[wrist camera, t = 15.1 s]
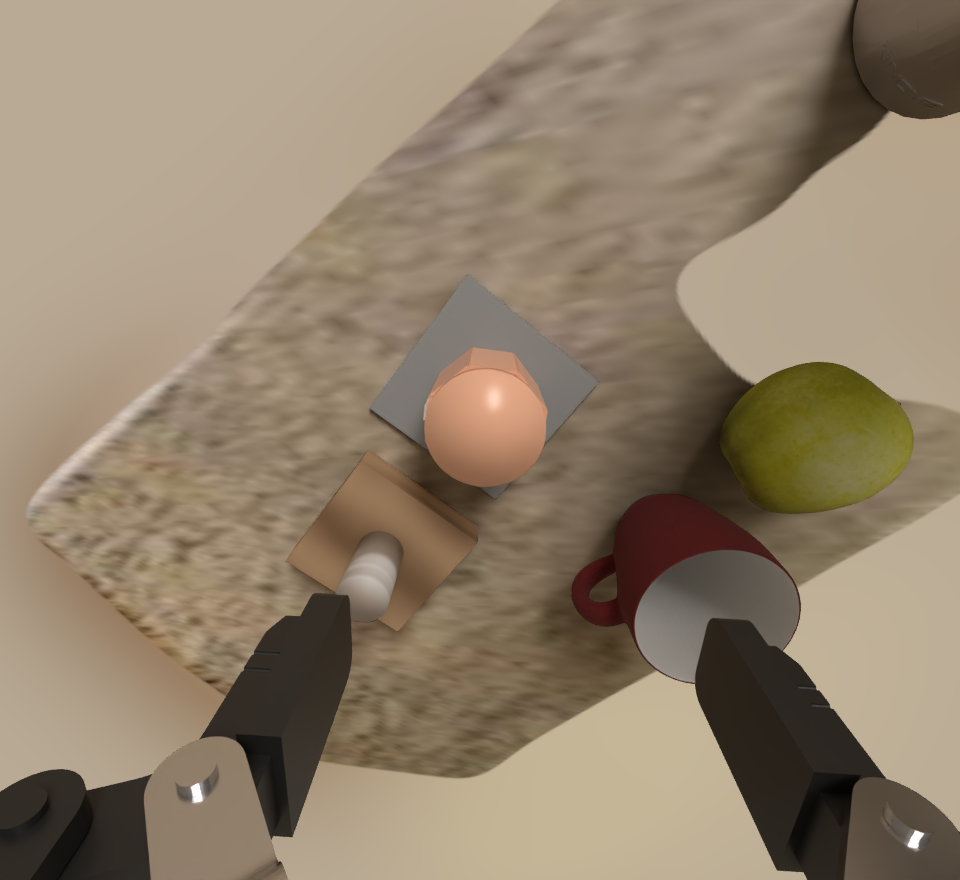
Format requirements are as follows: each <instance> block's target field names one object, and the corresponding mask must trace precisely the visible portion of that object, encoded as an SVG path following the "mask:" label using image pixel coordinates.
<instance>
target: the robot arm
mask: <svg viewBox="0 0 960 880" xmlns="http://www.w3.org/2000/svg"><path fill="white" fill-rule="evenodd" d="M853 48H854V55H855V63H856V66H857V68H858V71H859V74H860V76H861V79H862V82H863V83H864V85H865V86H866V88H867V89H868V91H869V92H870V94H871V95H872V96H873V98H874V99H876V100H877V101H878V102H879V103H880V104H882V105H883V106H884V107H885V108H886V109H888V110H890V111H892V112H895V113H897V114H899V115H901V116H904V117H911V118H917V119H930V118H941V117H944V116H948V115H951V114H954V113H957V112H960V0H858V2H857V7H856V11H855V15H854V25H853ZM351 660H352V636H351V613H350V599H349V596H348V595H338V594H321V593H314V594H313V595H312V596H311V598H310V599H309V601H308V603H307V605H306V607H305V609H304V610H303V612H302V614H301V616H285V617H284V618H282V619H281V620H280V621H279V622H278V623H276V624H275V625H274V626H273V627H271V628H270V629H269V630H268V631H266V633H265V635H264V636H263V638H262V639H261V641H260V643H259V644H258V646H257V647H256V649H255V651H254V655H252V656H251V657H250V659H249V660H248V662H247V664H246V665H245V667H244V671H243V672H241V673H240V675H239V677H238V678H237V680H236V681H235V683H234V685H233V686H232V688H231V690H230V691H229V693H228V694H227V696H226V698H225V699H224V701H223V703H222V704H221V706H220V707H219V709H218V711H217V712H216V714H215V715H214V717H213V719H212V720H211V722H210V724H209V725H208V727H207V728H206V730H205V732H204V733H203V735H202V736H201V738H200V739H199V740H196V741H193V742H191V743H189V744H187V745H185V746H183V747H181V748H179V749H178V750H176V751H175V752H173V753H172V754H171V755H170V756H168V757H167V758H166V759H165V760H164V761H163V762H162V763H161V764H160V765H159V766H158V767H157V769H156V770H155V771H154V773H153V774H151V775H148V776H145V777H142V778H138V779H135V780H130V781H126V782H122V783H118V784H113V785H109V786H105V787H100V788H96V789H92V790H88V791H87V790H86V787H85V784H84V781H83V779H82V777H81V776H80V775H79V774H77V773H76V772H73V771H70V770H64V769H57V770H49V771H44V772H40V773H37V774H34V775H31V776H29V777H27V778H24V779H22V780H20V781H18V782H16V783H14V784H12V785H11V786H9V787H7V788H6V789H4V790H2V791H1V792H0V880H288V878H287V875H286V872H285V870H284V867H283V865H282V863H281V862H278V860H277V858H276V855H275V852H274V849H273V845H272V842H271V840H272V837H273V836H283V837H293V834H294V831H295V828H296V825H297V823H298V820H299V817H300V814H301V811H302V808H303V806H304V803H305V800H306V797H307V794H308V791H309V788H310V786H311V783H312V780H313V777H314V774H315V771H316V768H317V766H318V763H319V760H320V757H321V754H322V751H323V749H324V746H325V743H326V740H327V737H328V734H329V732H330V729H331V726H332V723H333V720H334V717H335V715H336V712H337V709H338V706H339V703H340V700H341V697H342V695H343V692H344V689H345V686H346V683H347V680H348V677H349V673H350V667H351ZM695 687H696V694H697V697H698V701H699V703H700V706H701V708H702V710H703V712H704V714H705V716H706V719H707V721H708V723H709V725H710V727H711V729H712V732H713V734H714V736H715V738H716V740H717V742H718V744H719V747H720V749H721V751H722V753H723V755H724V757H725V760H726V762H727V764H728V766H729V768H730V770H731V773H732V775H733V777H734V779H735V781H736V783H737V785H738V788H739V790H740V792H741V794H742V796H743V798H744V801H745V803H746V805H747V807H748V809H749V811H750V813H751V815H752V818H753V820H754V822H755V824H756V826H757V828H758V831H759V833H760V835H761V837H762V839H763V841H764V843H765V846H766V848H767V850H768V852H769V854H770V856H771V859H772V861H773V863H774V865H775V867H776V869H777V870H778V871H794V872H804V874H805V876H806V878H807V880H960V832H959V831H958V830H957V828H956V827H955V826H954V825H953V823H952V822H951V821H950V820H949V819H948V818H947V817H946V816H945V814H943V813H942V812H941V811H940V810H939V809H938V808H937V807H936V806H935V805H933V804H932V803H931V802H930V801H928V800H927V799H926V798H924V797H922V796H921V795H920V794H918V793H917V792H915V791H913V790H911V789H910V788H908V787H906V786H904V785H901V784H899V783H897V782H894V781H891V780H888V779H886V778H885V776H884V775H883V774H882V773H881V771H880V770H879V769H878V767H877V766H876V765H875V763H874V762H873V761H872V760H871V758H870V757H869V755H868V754H867V753H866V751H865V750H864V749H863V747H862V746H861V745H860V744H859V742H858V741H857V740H856V738H855V737H854V736H853V734H852V733H851V732H850V730H849V729H848V728H847V727H846V725H845V724H844V722H843V721H842V720H841V719H840V717H839V716H838V715H837V713H836V712H835V711H834V709H831V708H830V704H829V703H828V701H827V700H826V699H825V697H824V696H823V695H822V693H821V692H820V691H817V690H816V686H815V684H814V683H813V682H812V680H811V679H810V678H809V676H808V675H807V674H806V672H805V671H804V670H803V668H802V667H801V666H800V665H799V664H798V663H797V662H796V661H794V660H793V659H792V658H791V657H789V656H788V655H787V654H786V653H784V652H783V651H782V650H781V649H779V648H778V647H777V646H769V645H768V644H767V643H766V641H765V640H764V639H763V637H762V636H761V634H760V633H759V632H758V630H757V629H756V627H755V626H754V625H753V623H752V622H750V621H749V620H741V619H724V618H712V619H710V620H709V622H708V624H707V627H706V631H705V636H704V640H703V644H702V648H701V652H700V656H699V660H698V664H697V668H696V673H695Z"/></svg>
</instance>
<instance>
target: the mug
mask: <svg viewBox="0 0 960 880" xmlns="http://www.w3.org/2000/svg"><path fill="white" fill-rule="evenodd" d="M615 572H616V576H617V598H616V599H614V600H611V601H607V602H595V601H592V600H591V599H589V597H588V596H589V593H590V591H591V589H592V588H593V587H594V586H595V585H596V584H597V583H598V582H600V581H601V580H602V579H604V578H606V577H607V576H609V575H611V574H613V573H615ZM572 600H573V603H574V606H575V608H576V609H577V611H578V613H579V614H580V615H581V616H582V617H583V618H584V619H586V620H587V621H589V622H590V623H592V624H595V625H598V626H606V627H609V626H615V625H619V624H622V623H626V624H627V625H628V627H629V630H630V632H631V634H632V637H633V639H634V641H635V644H636V646H637V648H638V650H639V651H640V653H641V655H642V656H643V657H644V659H645V660H646V661H647V662H648V663H649V664H650V665H651V666H652V667H653V668H655V669H656V670H657V671H659V672H660V673H662V674H664V675H666V676H668V677H670V678H673V679H675V680H678V681H682V682H686V683H691V684H695V673H696V668H697V664H698V660H699V656H700V652H701V648H702V644H703V640H704V636H705V631H706V627H707V624H708V622H709V620H710V619H712V618H724V619H741V620H749V621H750V622H752V623H753V625H754V626H755V627H756V629H757V630H758V632H759V633H760V634H761V636H762V637H763V639H764V640H765V641H766V643H767V644H768V645H769V646H777V647H778V648H779V649H781V650H782V651H783V650H784V649H785V647H786V646H787V645H788V644H789V642H790V641H791V639H792V637H793V635H794V633H795V631H796V629H797V626H798V623H799V619H800V612H801V602H800V596H799V592H798V589H797V587H796V584H795V582H794V581H793V579H792V577H791V576H790V575H789V573H788V572H787V571H786V569H785V568H784V567H783V566H782V565H781V564H780V563H779V562H778V561H777V559H776V558H775V557H774V556H773V555H772V554H771V553H770V552H769V551H768V550H767V549H766V548H765V547H764V546H763V545H762V544H761V543H760V542H759V541H758V540H757V539H756V538H754V537H753V536H752V535H751V534H749V533H748V532H747V531H745V530H744V529H742V528H741V527H739V526H738V525H736V524H735V523H733V522H731V521H730V520H728V519H727V518H725V517H723V516H722V515H720V514H719V513H717V512H715V511H714V510H712V509H711V508H709V507H707V506H706V505H704V504H702V503H700V502H699V501H697V500H694V499H692V498H689V497H686V496H682V495H676V494H657V495H650V496H646V497H643V498H641V499H639V500H638V501H636V502H635V503H633V504H632V505H631V506H630V508H629V509H628V510H627V512H626V513H625V514H624V516H623V517H622V519H621V521H620V523H619V525H618V528H617V531H616V534H615V540H614V550H613V554H611V555H609V556H606V557H604V558H601V559H599V560H596V561H594V562H592V563H591V564H589V565H587V566H586V567H584V568H583V569H582V570H581V571H580V572H579V573H578V575H577V576H576V577H575V579H574V581H573V584H572Z"/></svg>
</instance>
